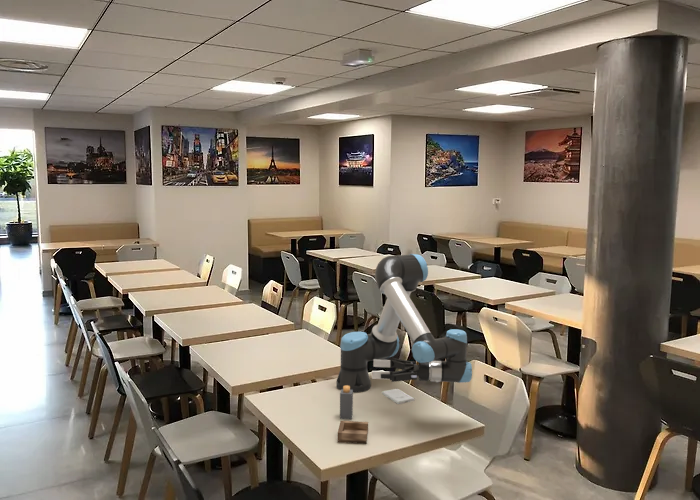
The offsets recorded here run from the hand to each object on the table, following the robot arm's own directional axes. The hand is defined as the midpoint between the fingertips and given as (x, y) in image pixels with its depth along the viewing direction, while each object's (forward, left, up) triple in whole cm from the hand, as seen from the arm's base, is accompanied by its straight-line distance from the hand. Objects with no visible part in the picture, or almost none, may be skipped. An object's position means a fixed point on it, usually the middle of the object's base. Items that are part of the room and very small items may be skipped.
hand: (372, 368), depth 214 cm
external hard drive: (-24, +1, -20) cm, 32 cm away
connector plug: (+4, -9, -19) cm, 22 cm away
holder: (+18, +1, -19) cm, 26 cm away
